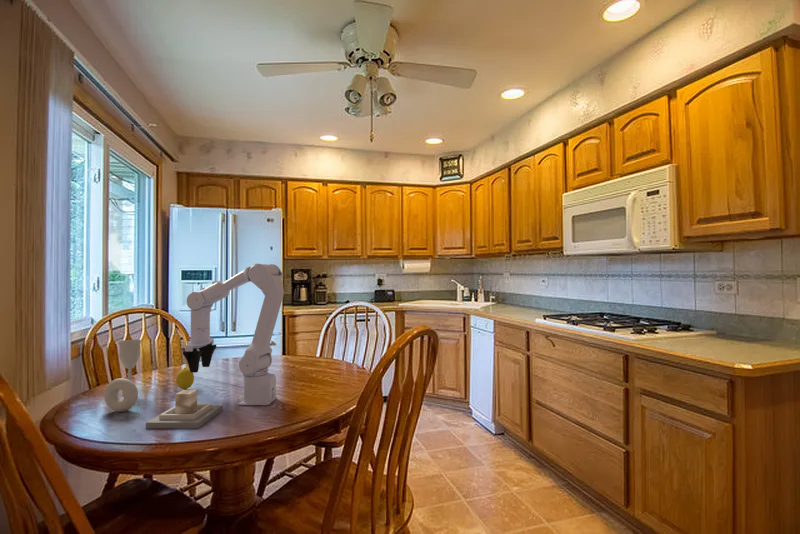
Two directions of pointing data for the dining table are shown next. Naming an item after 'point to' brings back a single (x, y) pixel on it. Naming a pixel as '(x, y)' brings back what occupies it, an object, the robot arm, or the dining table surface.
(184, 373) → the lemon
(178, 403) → the block
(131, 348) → the chalice
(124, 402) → the donut
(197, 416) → the base
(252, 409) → the dining table surface
